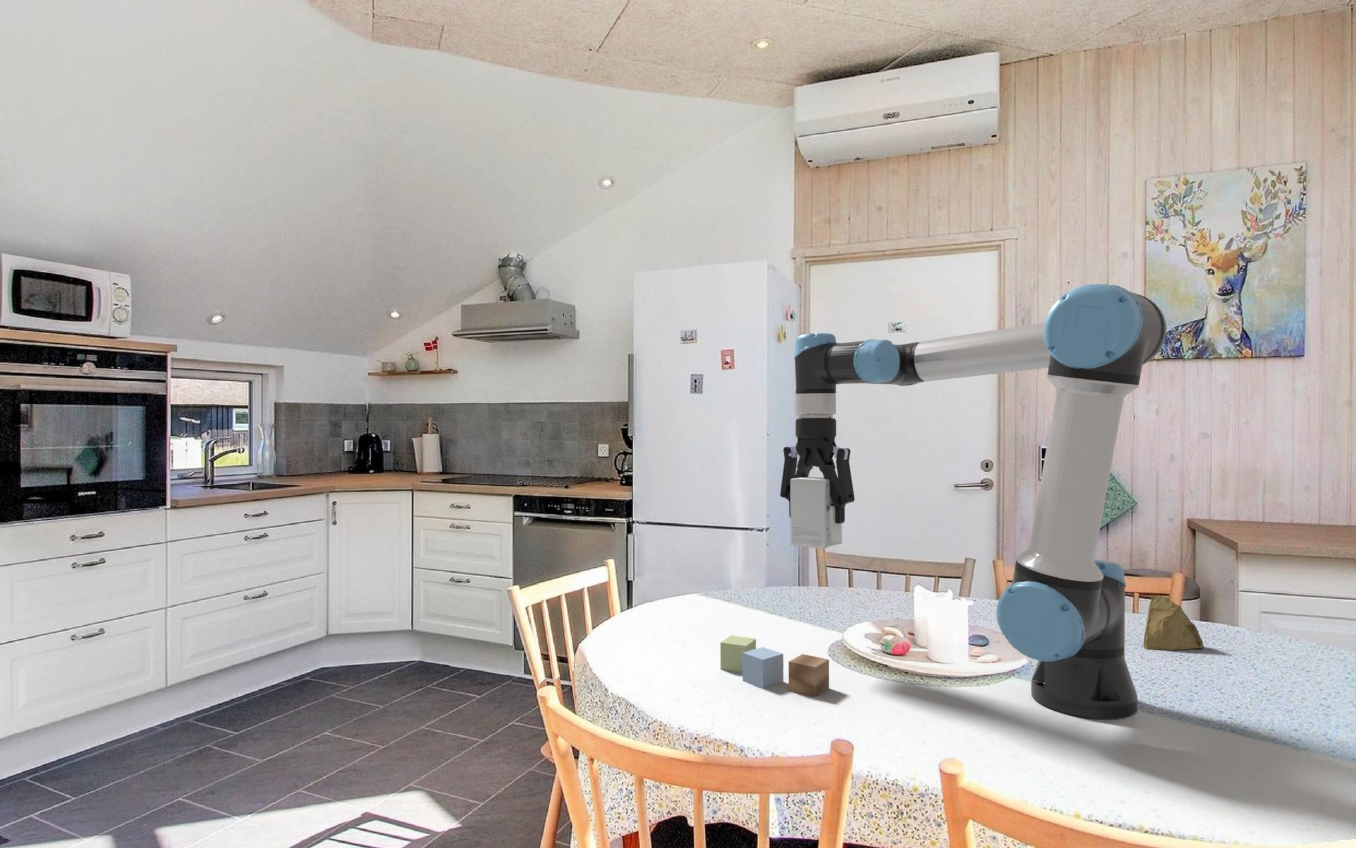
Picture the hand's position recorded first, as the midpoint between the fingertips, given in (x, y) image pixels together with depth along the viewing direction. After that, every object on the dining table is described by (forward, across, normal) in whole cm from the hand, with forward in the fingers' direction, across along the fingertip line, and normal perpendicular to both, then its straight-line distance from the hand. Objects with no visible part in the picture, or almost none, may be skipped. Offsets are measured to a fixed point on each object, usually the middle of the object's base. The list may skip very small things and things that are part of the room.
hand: (816, 538), depth 144 cm
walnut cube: (+23, -8, +13) cm, 28 cm away
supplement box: (+1, 0, 0) cm, 1 cm away
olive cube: (+23, +8, +13) cm, 28 cm away
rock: (+24, -44, -57) cm, 76 cm away
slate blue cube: (+23, 0, +16) cm, 28 cm away
